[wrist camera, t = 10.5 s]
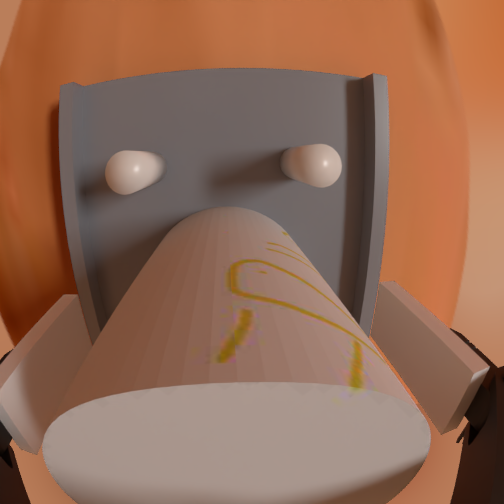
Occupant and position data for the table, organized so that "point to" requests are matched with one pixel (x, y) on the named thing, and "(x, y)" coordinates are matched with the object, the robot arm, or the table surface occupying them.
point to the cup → (233, 384)
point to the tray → (225, 171)
